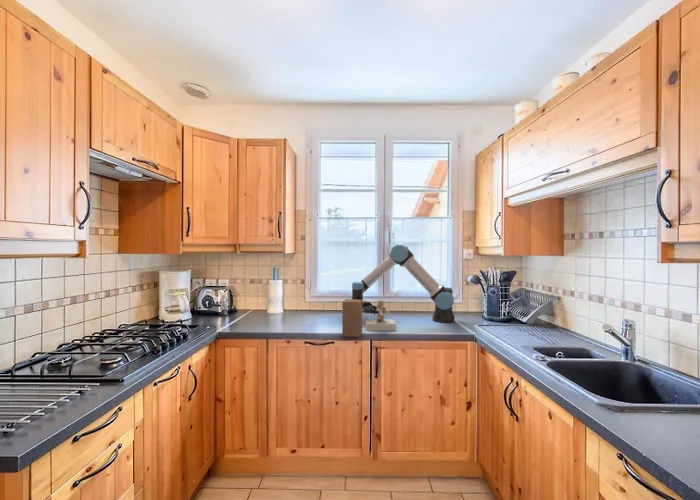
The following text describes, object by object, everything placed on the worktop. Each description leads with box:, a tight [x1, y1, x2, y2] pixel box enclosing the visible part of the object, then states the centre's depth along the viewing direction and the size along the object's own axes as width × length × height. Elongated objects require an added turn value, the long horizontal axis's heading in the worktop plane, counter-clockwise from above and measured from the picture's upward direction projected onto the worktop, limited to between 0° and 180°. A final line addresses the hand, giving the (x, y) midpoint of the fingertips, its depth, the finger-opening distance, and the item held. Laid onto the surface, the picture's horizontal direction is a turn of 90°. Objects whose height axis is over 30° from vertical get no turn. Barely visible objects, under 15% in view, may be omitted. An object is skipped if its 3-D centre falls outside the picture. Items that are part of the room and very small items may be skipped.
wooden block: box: [341, 298, 363, 338], centre depth 212 cm, size 10×10×20 cm
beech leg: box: [376, 300, 385, 323], centre depth 229 cm, size 4×4×16 cm
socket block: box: [365, 318, 397, 332], centre depth 229 cm, size 18×13×4 cm
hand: (385, 312), depth 224 cm, fingers closed on beech leg, 4 cm apart
